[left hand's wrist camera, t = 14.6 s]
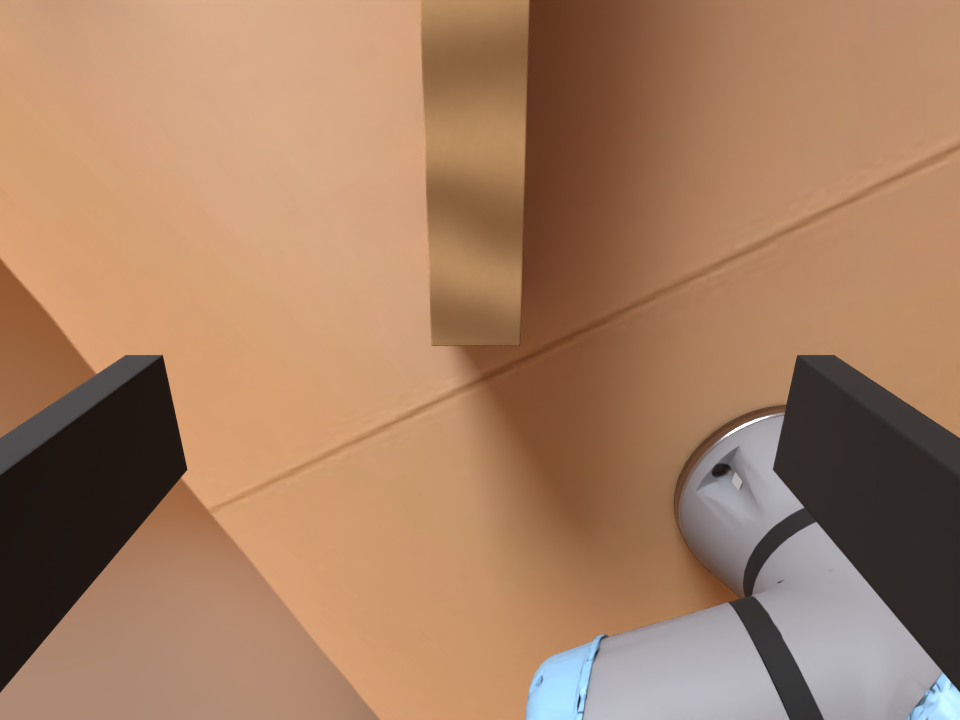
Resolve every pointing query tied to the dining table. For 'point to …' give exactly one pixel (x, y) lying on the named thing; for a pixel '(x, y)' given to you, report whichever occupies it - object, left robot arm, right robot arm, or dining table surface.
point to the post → (475, 166)
